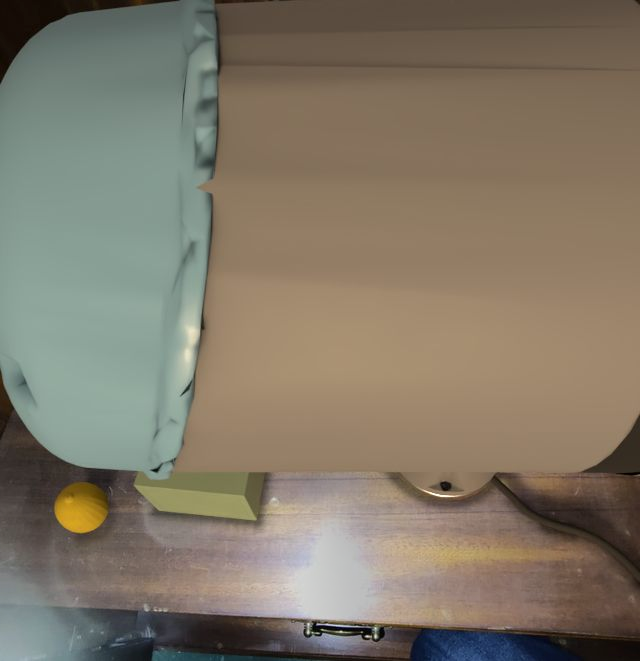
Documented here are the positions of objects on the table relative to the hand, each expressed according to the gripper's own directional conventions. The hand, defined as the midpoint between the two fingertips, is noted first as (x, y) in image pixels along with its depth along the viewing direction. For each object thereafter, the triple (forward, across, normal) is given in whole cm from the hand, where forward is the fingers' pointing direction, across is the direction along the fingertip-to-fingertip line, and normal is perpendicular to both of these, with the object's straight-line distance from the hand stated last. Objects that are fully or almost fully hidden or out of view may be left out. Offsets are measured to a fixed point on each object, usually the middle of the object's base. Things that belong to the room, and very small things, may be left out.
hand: (330, 146), depth 62 cm
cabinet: (+31, +26, +12) cm, 42 cm away
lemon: (+33, +42, +9) cm, 54 cm away
